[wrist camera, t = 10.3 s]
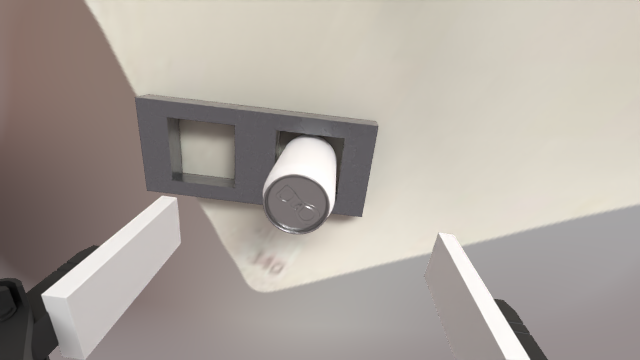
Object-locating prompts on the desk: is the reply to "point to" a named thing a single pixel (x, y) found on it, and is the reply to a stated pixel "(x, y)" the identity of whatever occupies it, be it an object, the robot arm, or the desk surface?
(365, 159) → the holder
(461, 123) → the desk surface
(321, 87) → the desk surface
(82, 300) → the robot arm
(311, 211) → the can
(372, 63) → the desk surface
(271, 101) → the desk surface
